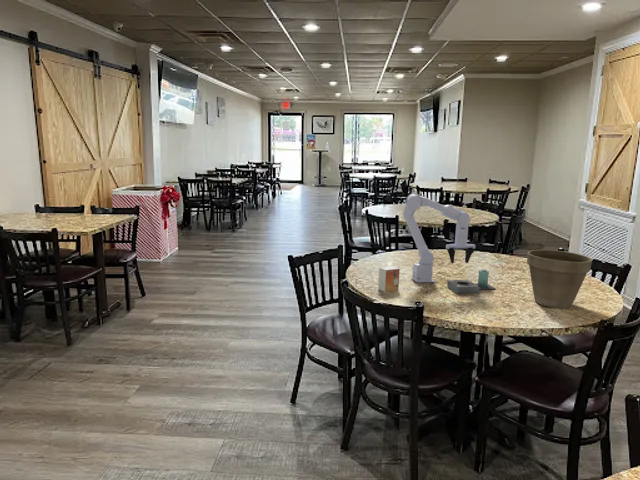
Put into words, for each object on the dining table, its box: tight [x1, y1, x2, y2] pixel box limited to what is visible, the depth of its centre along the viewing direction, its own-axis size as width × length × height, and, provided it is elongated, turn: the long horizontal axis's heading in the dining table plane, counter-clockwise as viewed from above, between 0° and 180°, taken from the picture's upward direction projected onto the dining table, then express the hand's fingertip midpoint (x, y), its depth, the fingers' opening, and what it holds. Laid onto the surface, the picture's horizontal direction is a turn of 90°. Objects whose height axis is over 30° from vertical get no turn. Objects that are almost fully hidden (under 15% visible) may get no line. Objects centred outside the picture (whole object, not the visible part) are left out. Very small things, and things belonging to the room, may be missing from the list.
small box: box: [377, 265, 401, 293], centre depth 224 cm, size 8×6×10 cm
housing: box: [446, 279, 480, 295], centre depth 226 cm, size 10×12×4 cm
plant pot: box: [526, 249, 593, 309], centre depth 208 cm, size 25×25×22 cm
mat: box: [475, 283, 496, 291], centre depth 232 cm, size 9×9×1 cm
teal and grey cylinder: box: [477, 269, 490, 287], centre depth 231 cm, size 4×4×8 cm
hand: (459, 262), depth 239 cm, fingers open, 7 cm apart
